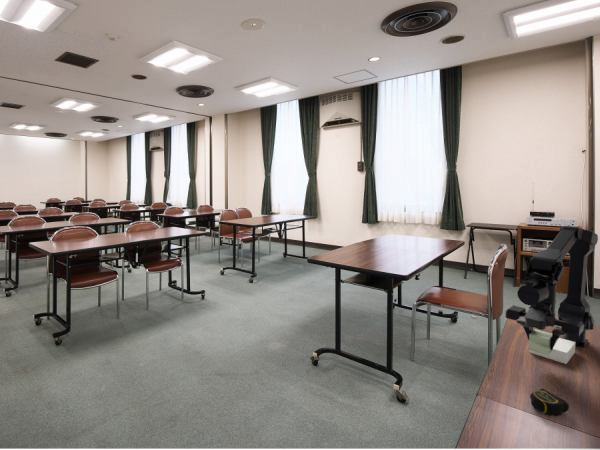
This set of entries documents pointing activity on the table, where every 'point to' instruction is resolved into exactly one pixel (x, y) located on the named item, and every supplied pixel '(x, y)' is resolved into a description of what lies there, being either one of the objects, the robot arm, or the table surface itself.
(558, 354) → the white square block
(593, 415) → the table surface
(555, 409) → the tape measure
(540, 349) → the green cube
